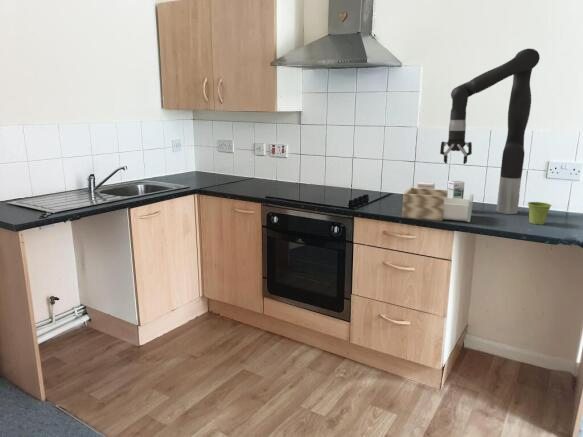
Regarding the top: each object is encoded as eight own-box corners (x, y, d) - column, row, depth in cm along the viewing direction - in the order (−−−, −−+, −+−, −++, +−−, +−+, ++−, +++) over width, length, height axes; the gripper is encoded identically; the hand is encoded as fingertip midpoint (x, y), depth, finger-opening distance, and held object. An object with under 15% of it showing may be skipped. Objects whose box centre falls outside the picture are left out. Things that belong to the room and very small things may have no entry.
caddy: (446, 213, 229) (448, 190, 227) (442, 221, 213) (444, 197, 210) (408, 209, 236) (409, 187, 233) (401, 217, 220) (403, 193, 217)
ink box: (415, 205, 245) (416, 182, 243) (416, 203, 250) (418, 181, 247) (432, 206, 243) (434, 184, 240) (433, 205, 247) (435, 182, 244)
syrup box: (451, 211, 232) (454, 182, 229) (445, 209, 238) (448, 180, 234) (462, 211, 233) (465, 182, 230) (456, 208, 239) (458, 180, 235)
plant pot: (553, 224, 210) (556, 205, 208) (540, 226, 205) (543, 207, 203) (533, 219, 217) (536, 201, 215) (520, 222, 213) (523, 203, 211)
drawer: (471, 213, 225) (473, 194, 223) (469, 222, 209) (471, 201, 206) (432, 210, 231) (433, 191, 229) (427, 218, 215) (428, 198, 213)
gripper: (474, 129, 227) (471, 163, 231) (443, 129, 234) (441, 162, 237) (471, 130, 221) (469, 165, 224) (440, 129, 227) (438, 163, 231)
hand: (455, 163), depth 231 cm, fingers open, 8 cm apart
